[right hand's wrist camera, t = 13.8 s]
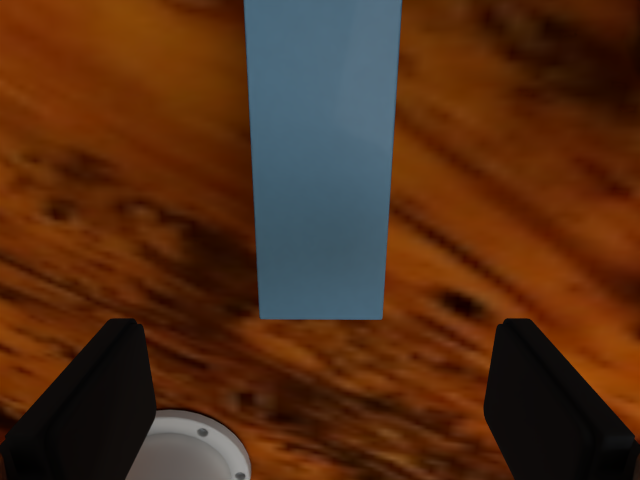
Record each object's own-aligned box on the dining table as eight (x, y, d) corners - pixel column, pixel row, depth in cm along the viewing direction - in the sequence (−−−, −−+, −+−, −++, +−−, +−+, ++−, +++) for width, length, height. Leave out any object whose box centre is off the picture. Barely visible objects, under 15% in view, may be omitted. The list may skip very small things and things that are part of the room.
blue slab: (269, -135, 23) (226, -316, 12) (376, -135, 23) (422, -315, 13) (280, 239, 30) (259, 319, 20) (361, 240, 30) (382, 320, 20)
